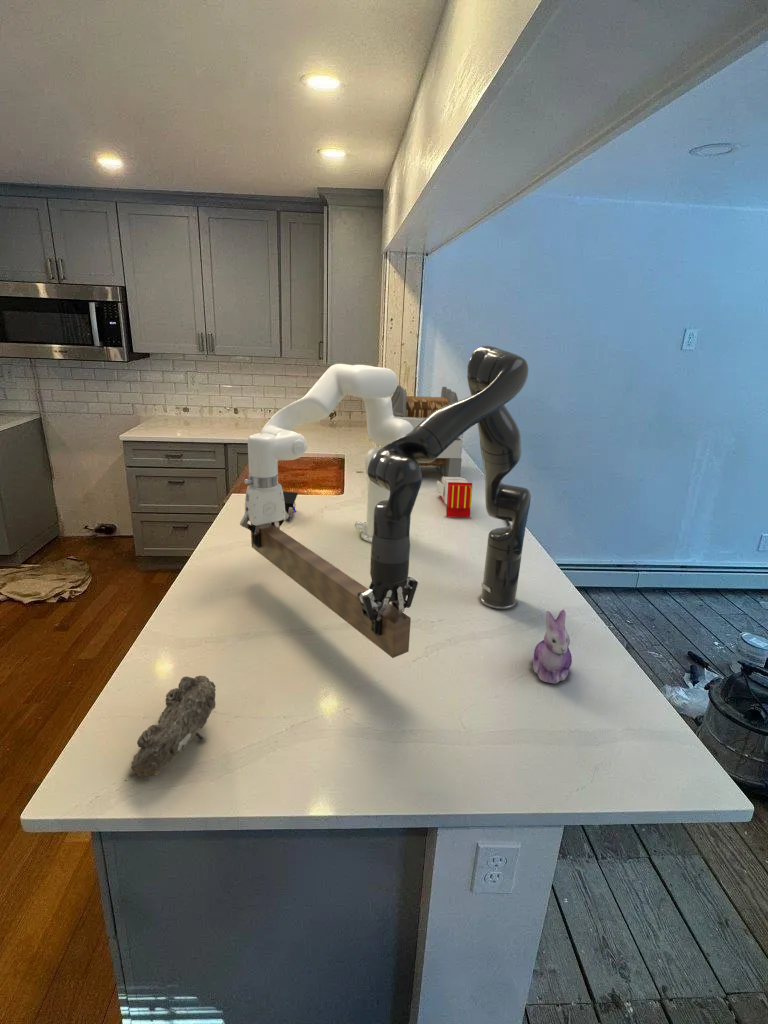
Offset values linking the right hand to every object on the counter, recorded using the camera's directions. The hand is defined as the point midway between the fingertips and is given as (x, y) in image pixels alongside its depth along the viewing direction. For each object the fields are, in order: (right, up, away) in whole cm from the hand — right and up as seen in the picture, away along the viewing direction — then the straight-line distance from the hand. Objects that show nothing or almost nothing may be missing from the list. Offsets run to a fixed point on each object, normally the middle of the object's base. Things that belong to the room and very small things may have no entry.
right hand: (386, 630), depth 116 cm
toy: (+28, +27, +115) cm, 121 cm away
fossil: (-37, -17, -13) cm, 43 cm away
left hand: (-33, +15, +41) cm, 55 cm away
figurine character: (-37, +23, +96) cm, 105 cm away
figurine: (+37, -12, +11) cm, 40 cm away
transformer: (+17, +43, +159) cm, 166 cm away
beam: (-17, +5, +21) cm, 27 cm away
